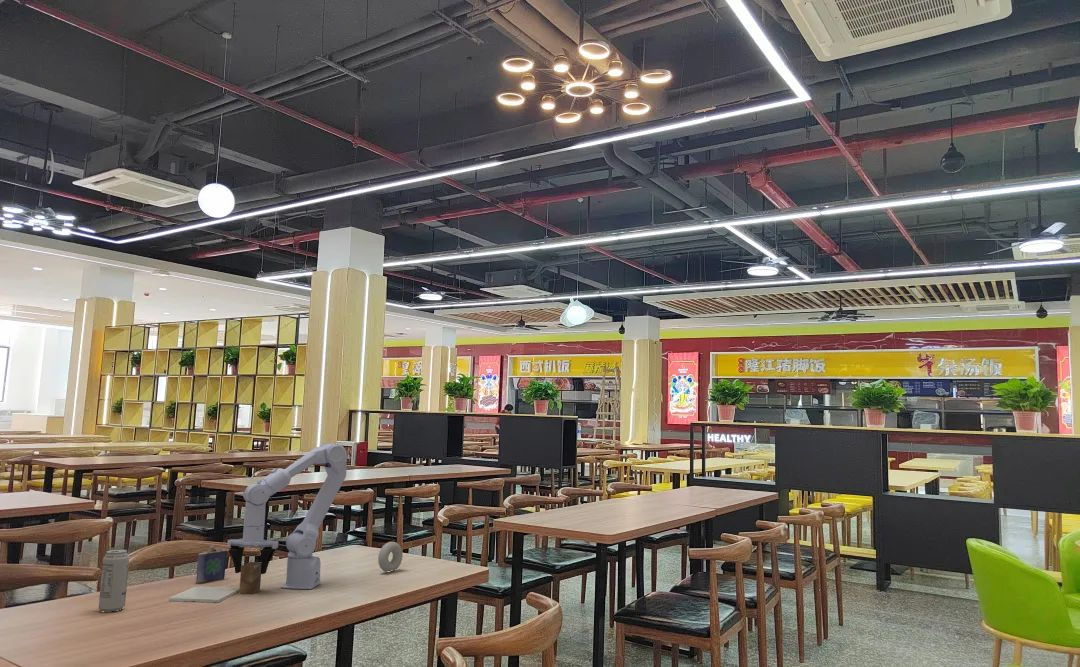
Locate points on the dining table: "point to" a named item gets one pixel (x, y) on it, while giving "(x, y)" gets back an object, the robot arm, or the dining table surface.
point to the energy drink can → (114, 580)
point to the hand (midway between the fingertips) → (250, 573)
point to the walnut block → (250, 578)
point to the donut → (384, 555)
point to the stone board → (205, 594)
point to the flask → (211, 565)
